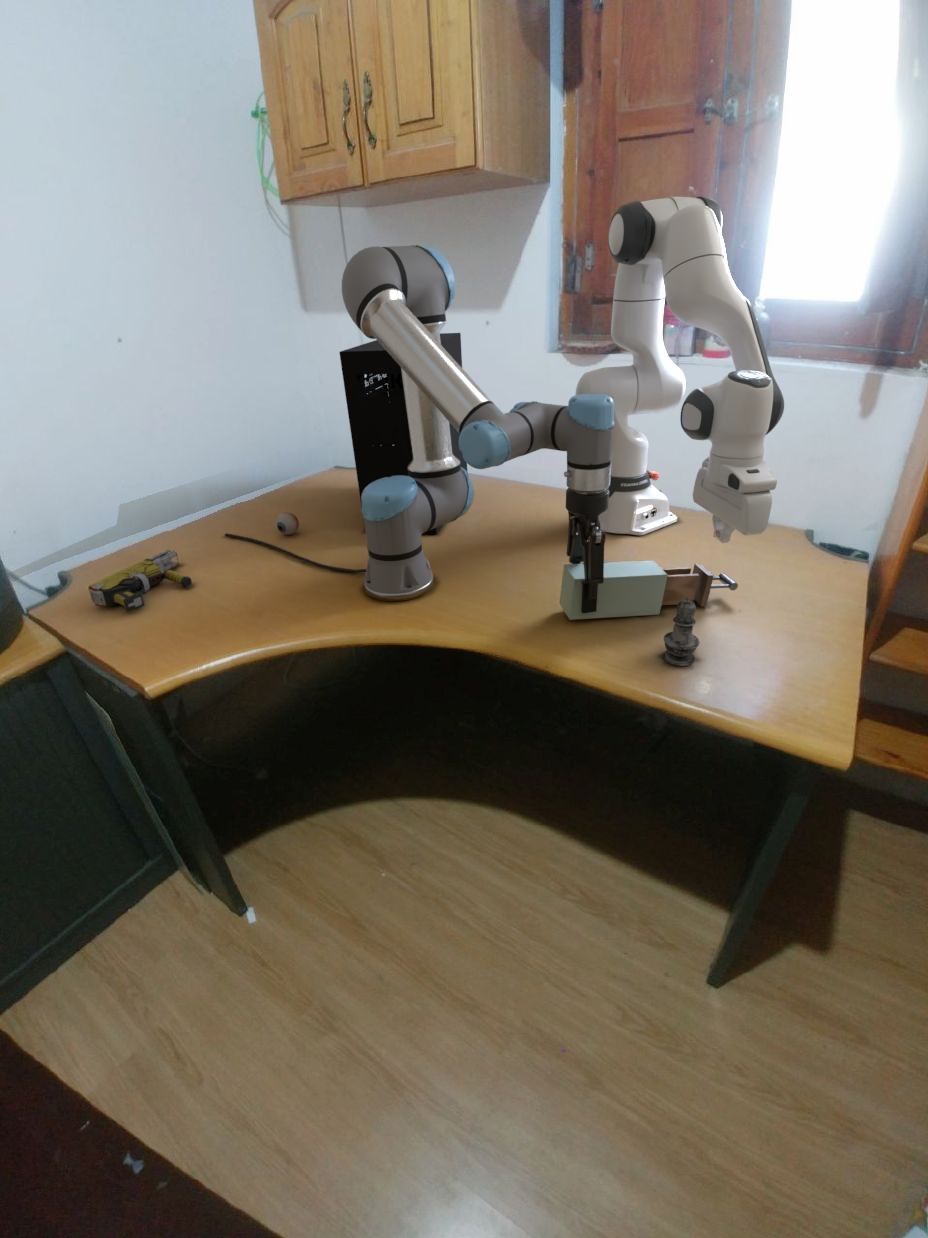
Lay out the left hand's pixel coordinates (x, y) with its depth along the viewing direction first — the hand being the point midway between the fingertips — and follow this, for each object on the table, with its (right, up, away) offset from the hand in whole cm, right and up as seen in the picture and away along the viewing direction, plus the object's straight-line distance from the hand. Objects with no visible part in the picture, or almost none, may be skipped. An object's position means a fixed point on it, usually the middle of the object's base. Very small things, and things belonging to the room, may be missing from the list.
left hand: (582, 602), depth 118 cm
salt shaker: (+14, -10, -13) cm, 22 cm away
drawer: (+19, 0, +3) cm, 19 cm away
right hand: (+26, +12, -2) cm, 29 cm away
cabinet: (+6, -1, +2) cm, 6 cm away
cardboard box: (-36, +29, +60) cm, 76 cm away
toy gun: (-94, +4, +22) cm, 97 cm away
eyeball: (-71, +20, +47) cm, 88 cm away
